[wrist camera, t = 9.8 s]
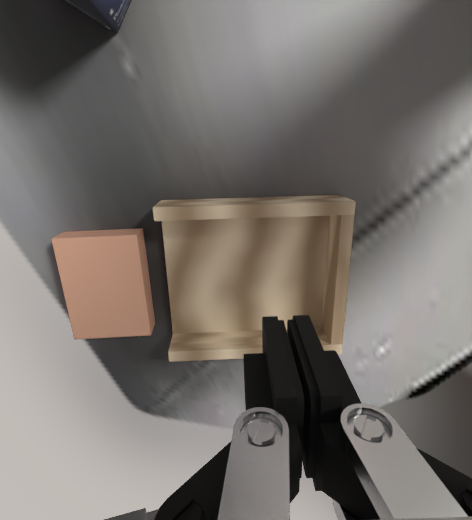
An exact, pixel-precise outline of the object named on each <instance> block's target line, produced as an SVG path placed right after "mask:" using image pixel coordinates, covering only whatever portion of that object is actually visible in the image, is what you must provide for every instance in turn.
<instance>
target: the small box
mask: <svg viewBox="0 0 472 520" xmlns="http://www.w3.org/2000/svg"><path fill="white" fill-rule="evenodd" d="M64 1H65V2H66V3H68V4H70V5H72V6H74V7H76V9H78V10H80V11H81V12H83V13H85V14H86V15H87V16H89V17H91V18H92V19H94V20H95V22H97V23H98V24H100V25H102V26H103V27H106V28H107V29H110V30H111V31H113V32H114V33H117V32H118V31H119V29H120V26H121V24H122V21H123V19H124V17H125V14H126V12H127V9H128V7H129V5H130V2H131V0H64Z"/></svg>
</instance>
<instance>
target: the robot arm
mask: <svg viewBox="0 0 472 520" xmlns="http://www.w3.org/2000/svg"><path fill="white" fill-rule="evenodd" d="M244 380H245V403H246V411H245V412H243V413H241V415H240V416H239V417H238V418H237V419H236V422H235V425H234V429H233V435H232V441H231V442H230V443H229V444H228V445H227V446H225V447H224V448H223V449H222V450H221V451H220V452H219V453H218V454H217V455H215V456H214V457H213V458H212V459H211V460H210V461H209V462H208V463H207V464H205V465H204V466H203V467H202V468H201V469H200V470H199V471H198V472H197V473H195V474H194V475H193V476H192V477H191V478H190V479H189V480H188V481H187V482H185V483H184V484H183V485H182V486H181V487H180V488H179V489H178V490H176V491H175V492H174V493H173V494H172V495H171V496H170V497H169V498H168V499H167V500H166V501H165V502H164V503H163V505H162V506H161V507H160V508H159V509H158V510H155V511H151V512H148V513H146V509H145V508H144V509H141V510H137V511H133V512H130V513H126V514H123V515H119V516H116V517H112V518H109V519H105V520H290V503H291V501H292V500H293V499H294V498H295V496H296V495H297V494H298V492H299V480H300V478H301V474H302V461H303V466H304V471H305V475H306V477H307V478H313V482H314V487H315V490H316V491H323V492H324V493H326V494H327V495H328V496H330V497H331V498H332V499H333V505H334V509H335V513H336V515H337V517H338V520H472V479H471V478H470V477H468V476H466V475H464V474H462V473H461V472H459V471H457V470H455V469H453V468H452V467H450V466H448V465H446V464H444V463H442V462H441V461H439V460H437V459H435V458H434V457H432V456H430V455H428V454H426V453H424V452H423V451H421V450H419V449H417V448H416V447H415V446H414V445H413V443H412V442H411V441H410V439H409V438H408V437H407V435H406V434H405V433H404V432H403V430H402V429H401V428H400V427H399V425H398V424H397V422H396V421H395V420H394V419H393V418H392V417H391V416H390V415H389V414H388V413H387V412H385V411H383V410H382V409H381V408H378V407H376V406H373V405H370V404H364V403H361V402H360V399H359V397H358V395H357V393H356V391H355V389H354V387H353V385H352V383H351V381H350V379H349V377H348V374H347V372H346V370H345V368H344V366H343V364H342V362H341V360H340V358H339V356H338V354H337V352H336V351H335V350H329V351H324V349H323V347H322V345H321V342H320V340H319V337H318V335H317V333H316V330H315V328H314V326H313V323H312V321H311V319H310V316H309V315H293V319H292V320H288V321H287V331H286V327H285V323H284V320H278V317H277V316H268V317H262V353H251V354H244Z"/></svg>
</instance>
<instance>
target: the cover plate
mask: <svg viewBox="0 0 472 520" xmlns="http://www.w3.org/2000/svg"><path fill="white" fill-rule="evenodd" d="M52 244H53V248H54V252H55V257H56V261H57V266H58V270H59V274H60V279H61V283H62V287H63V292H64V296H65V300H66V305H67V309H68V313H69V318H70V322H71V326H72V331H73V335H74V339H91V338H110V337H129V336H148V335H151V333H152V331H153V328H154V325H155V316H154V309H153V301H152V293H151V286H150V278H149V271H148V263H147V256H146V248H145V241H144V233H143V228H139V229H116V230H94V231H71V232H63V233H61V234H59V235H57V236H55V237H54V238H52Z"/></svg>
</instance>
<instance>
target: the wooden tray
mask: <svg viewBox="0 0 472 520" xmlns="http://www.w3.org/2000/svg"><path fill="white" fill-rule="evenodd" d="M355 206H356V201H354V200H351V199H349V198H347V197H344V196H342V195H315V196H282V197H249V198H216V199H183V200H161V201H160V202H158V203H157V204H156V205H155V206H154V207H153V216H154V221H162V230H163V240H164V250H165V260H166V270H167V280H168V290H169V300H170V310H171V320H172V330H173V335H172V339H171V343H170V347H169V351H168V355H169V362H174V361H196V360H219V359H242V358H244V354H251V353H262V317H268V316H277V317H278V320H284V323H285V327H286V331H287V321H288V320H292V319H293V315H309V316H310V319H311V321H312V323H313V326H314V328H315V330H316V333H317V335H318V337H319V340H320V342H321V345H322V347H323V349H324V351H329V350H335V351H336V352H337V354H341V353H342V343H343V332H344V322H345V311H346V300H347V290H348V279H349V269H350V258H351V248H352V237H353V227H354V216H355Z"/></svg>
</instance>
